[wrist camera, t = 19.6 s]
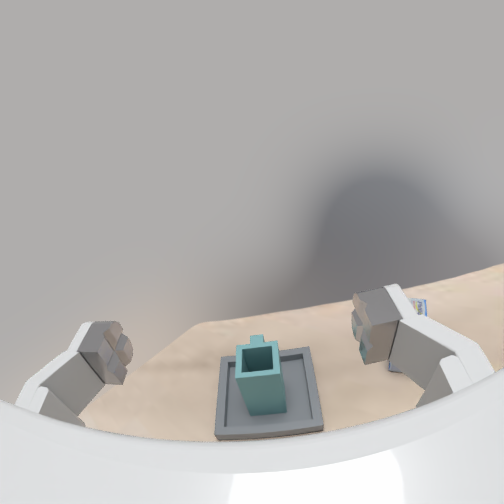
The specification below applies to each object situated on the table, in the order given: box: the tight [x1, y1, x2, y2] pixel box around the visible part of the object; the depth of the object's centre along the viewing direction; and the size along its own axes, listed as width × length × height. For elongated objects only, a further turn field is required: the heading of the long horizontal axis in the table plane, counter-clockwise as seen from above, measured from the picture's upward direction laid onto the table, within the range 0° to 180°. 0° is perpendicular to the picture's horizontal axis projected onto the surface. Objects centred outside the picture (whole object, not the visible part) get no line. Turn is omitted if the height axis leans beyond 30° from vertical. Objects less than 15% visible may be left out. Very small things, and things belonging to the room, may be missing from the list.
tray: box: [214, 346, 323, 440], centre depth 36 cm, size 14×14×2 cm
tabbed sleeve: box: [235, 334, 287, 416], centre depth 34 cm, size 5×6×10 cm
